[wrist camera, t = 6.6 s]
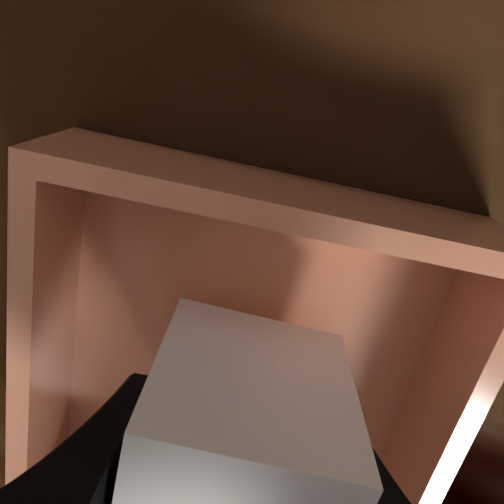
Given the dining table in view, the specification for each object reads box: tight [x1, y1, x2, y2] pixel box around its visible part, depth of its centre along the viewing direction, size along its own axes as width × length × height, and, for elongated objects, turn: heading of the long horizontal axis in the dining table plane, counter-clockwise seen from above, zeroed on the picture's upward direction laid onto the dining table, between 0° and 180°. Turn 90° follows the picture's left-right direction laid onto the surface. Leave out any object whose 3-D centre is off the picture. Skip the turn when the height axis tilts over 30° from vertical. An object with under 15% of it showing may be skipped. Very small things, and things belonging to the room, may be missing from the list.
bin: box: [5, 127, 504, 504], centre depth 14 cm, size 12×12×4 cm
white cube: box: [112, 298, 383, 504], centre depth 11 cm, size 4×4×5 cm
